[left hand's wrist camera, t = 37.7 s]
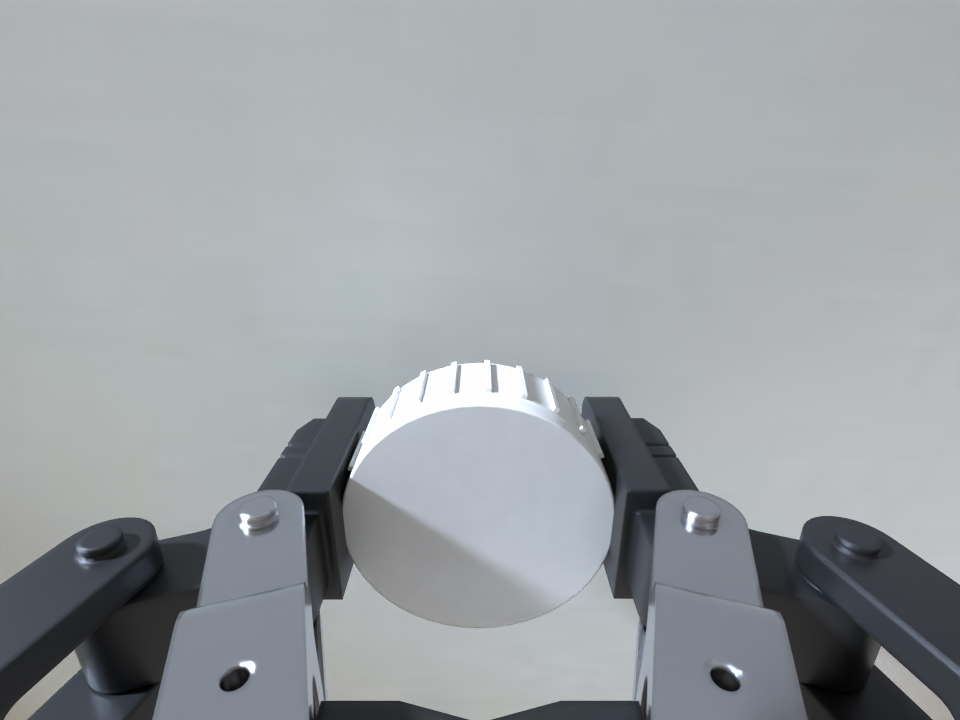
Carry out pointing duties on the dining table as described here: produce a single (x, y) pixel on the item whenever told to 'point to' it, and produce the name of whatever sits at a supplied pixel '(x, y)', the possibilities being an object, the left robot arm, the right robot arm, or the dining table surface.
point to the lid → (478, 497)
